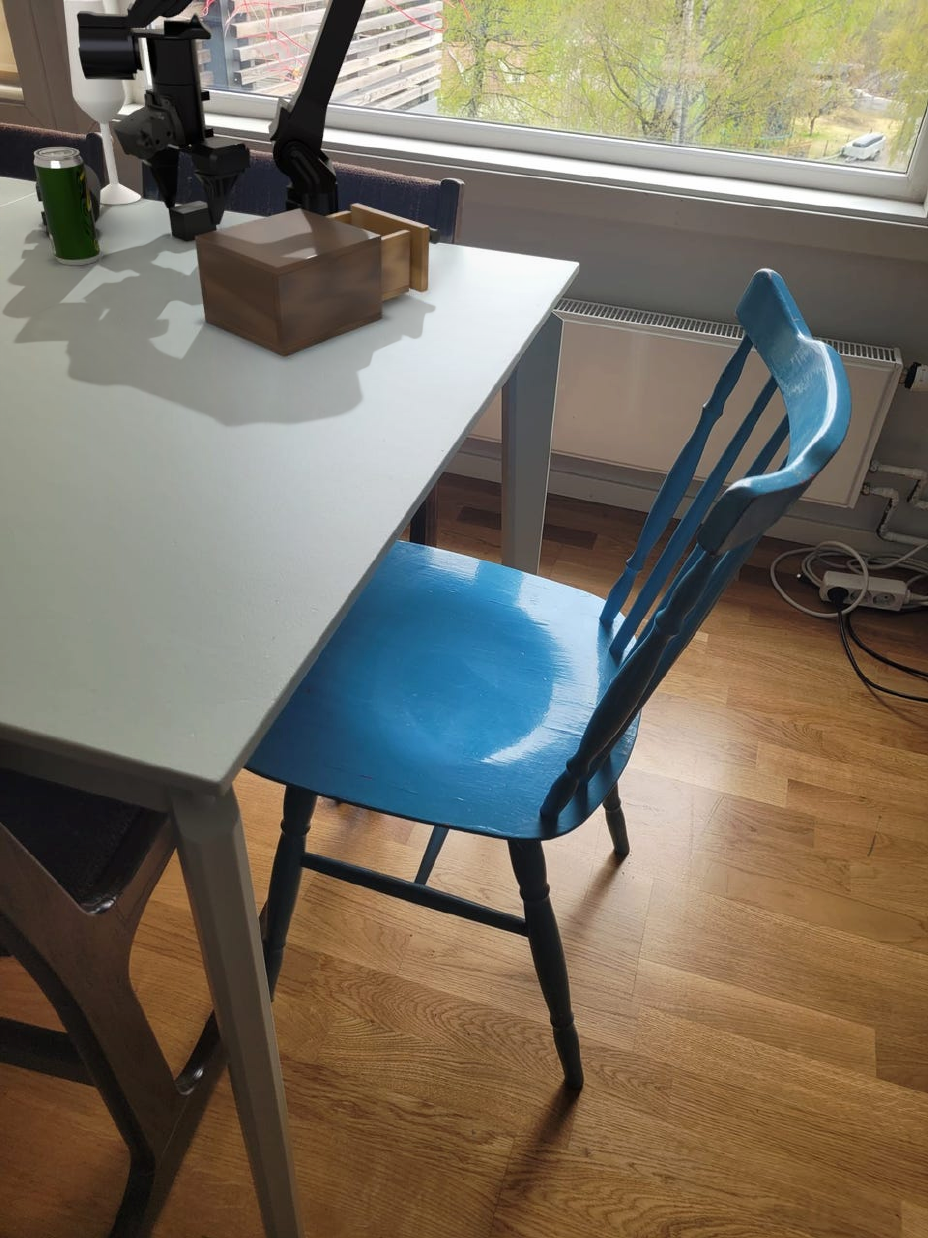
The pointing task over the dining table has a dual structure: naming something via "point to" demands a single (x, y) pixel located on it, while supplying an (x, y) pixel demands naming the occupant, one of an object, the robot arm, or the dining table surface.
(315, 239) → the cabinet
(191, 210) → the black block
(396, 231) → the drawer
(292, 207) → the robot arm
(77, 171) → the beer can
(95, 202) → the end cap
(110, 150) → the champagne flute
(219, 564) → the dining table surface
